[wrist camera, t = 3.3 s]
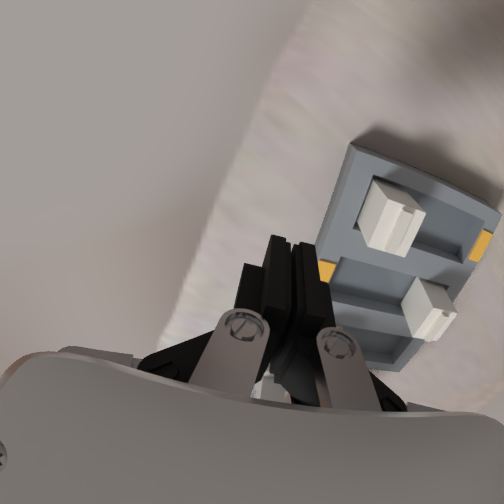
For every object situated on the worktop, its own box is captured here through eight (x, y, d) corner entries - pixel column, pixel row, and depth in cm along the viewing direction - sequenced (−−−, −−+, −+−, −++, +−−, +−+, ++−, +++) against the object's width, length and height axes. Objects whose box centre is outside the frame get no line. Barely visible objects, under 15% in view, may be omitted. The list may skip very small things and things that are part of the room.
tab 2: (417, 275, 24) (435, 311, 20) (440, 281, 24) (459, 317, 20) (400, 303, 26) (413, 341, 22) (423, 308, 26) (438, 345, 22)
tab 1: (370, 176, 21) (390, 202, 16) (404, 189, 21) (429, 216, 16) (355, 217, 22) (369, 250, 18) (387, 227, 22) (406, 261, 18)
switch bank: (349, 143, 21) (357, 150, 18) (487, 202, 21) (503, 215, 19) (278, 334, 32) (277, 354, 30) (394, 355, 32) (399, 373, 30)
